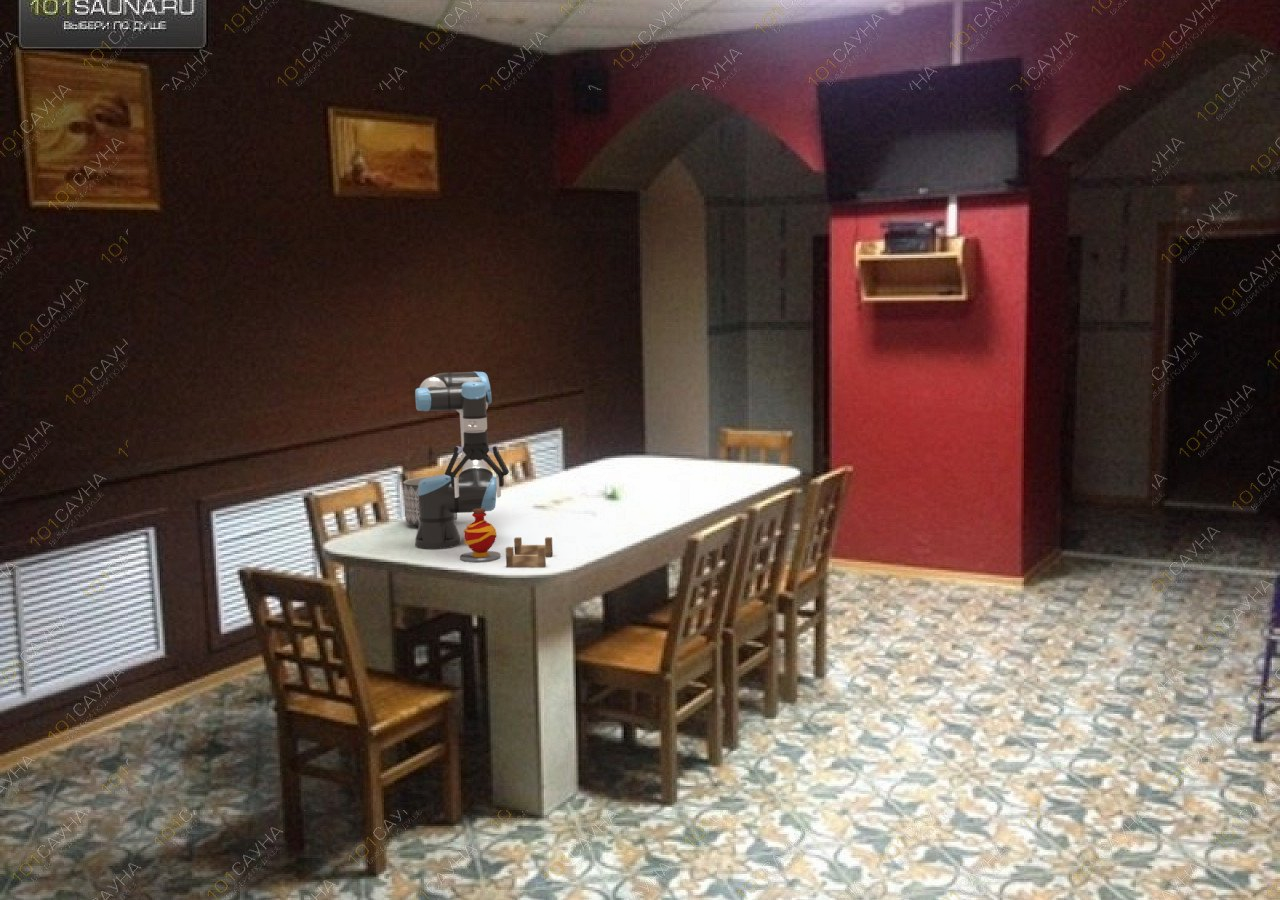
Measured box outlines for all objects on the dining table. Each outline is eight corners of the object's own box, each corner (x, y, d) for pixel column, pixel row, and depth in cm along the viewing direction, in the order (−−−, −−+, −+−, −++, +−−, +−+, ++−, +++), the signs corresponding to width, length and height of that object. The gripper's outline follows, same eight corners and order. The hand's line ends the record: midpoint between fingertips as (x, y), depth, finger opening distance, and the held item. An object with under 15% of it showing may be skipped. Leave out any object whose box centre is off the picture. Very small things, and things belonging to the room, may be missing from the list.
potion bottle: (479, 560, 368) (477, 513, 366) (458, 556, 375) (456, 510, 373) (504, 554, 376) (502, 508, 374) (482, 550, 383) (481, 505, 381)
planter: (458, 528, 423) (456, 483, 421) (404, 531, 420) (402, 486, 418) (457, 518, 442) (456, 475, 440) (406, 521, 439) (404, 477, 437)
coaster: (455, 562, 370) (455, 560, 370) (465, 553, 382) (465, 550, 382) (496, 562, 369) (496, 559, 368) (504, 553, 381) (504, 550, 381)
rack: (506, 567, 362) (505, 548, 361) (515, 555, 378) (515, 537, 377) (544, 567, 361) (544, 548, 360) (552, 555, 377) (552, 537, 376)
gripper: (433, 432, 367) (436, 499, 370) (511, 432, 365) (514, 498, 368) (439, 429, 375) (442, 494, 378) (516, 429, 373) (518, 494, 376)
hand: (478, 497), depth 373 cm, fingers open, 13 cm apart
